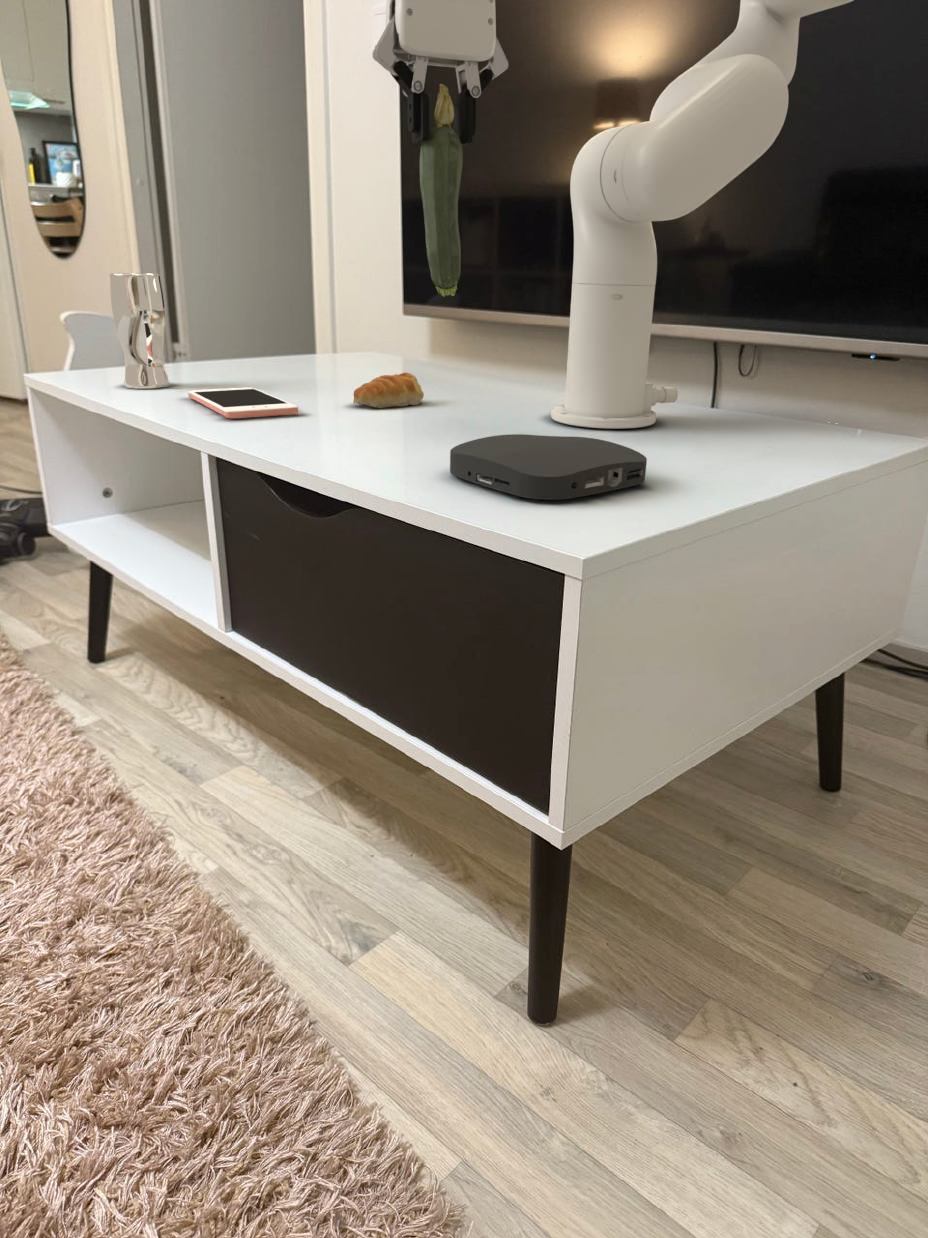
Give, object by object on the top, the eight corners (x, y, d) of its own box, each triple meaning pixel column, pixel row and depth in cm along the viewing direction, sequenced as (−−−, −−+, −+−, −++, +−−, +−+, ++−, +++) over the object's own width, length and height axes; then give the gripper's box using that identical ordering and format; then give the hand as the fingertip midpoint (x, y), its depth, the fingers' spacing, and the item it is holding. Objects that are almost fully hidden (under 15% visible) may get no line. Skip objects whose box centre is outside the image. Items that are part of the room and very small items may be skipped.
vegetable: (455, 298, 94) (457, 77, 87) (415, 297, 95) (413, 78, 87) (465, 296, 98) (467, 84, 91) (426, 295, 99) (426, 85, 91)
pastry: (376, 411, 113) (376, 380, 111) (340, 405, 117) (339, 375, 115) (427, 403, 119) (427, 373, 118) (391, 398, 123) (391, 369, 122)
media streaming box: (549, 455, 91) (550, 425, 89) (663, 484, 80) (666, 450, 79) (432, 473, 82) (432, 440, 81) (542, 509, 71) (544, 472, 70)
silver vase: (111, 388, 126) (97, 273, 121) (136, 381, 133) (124, 272, 127) (158, 390, 125) (146, 274, 120) (181, 383, 132) (170, 273, 126)
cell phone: (227, 419, 105) (226, 411, 104) (187, 397, 119) (186, 390, 119) (299, 414, 109) (299, 406, 109) (252, 393, 123) (252, 386, 123)
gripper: (505, -56, 90) (500, 150, 97) (344, -80, 84) (351, 141, 91) (540, -78, 84) (532, 143, 91) (368, -107, 78) (374, 134, 85)
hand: (441, 140), depth 91 cm, fingers closed on vegetable, 4 cm apart
